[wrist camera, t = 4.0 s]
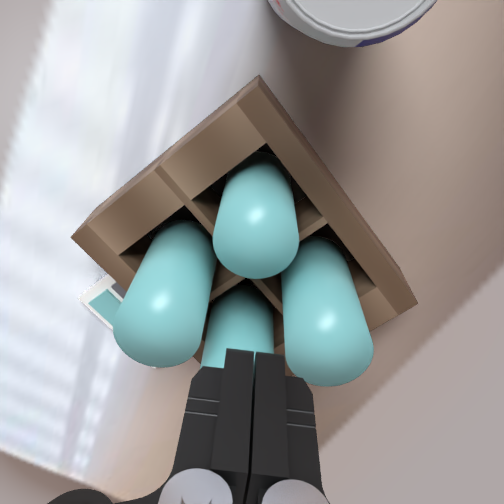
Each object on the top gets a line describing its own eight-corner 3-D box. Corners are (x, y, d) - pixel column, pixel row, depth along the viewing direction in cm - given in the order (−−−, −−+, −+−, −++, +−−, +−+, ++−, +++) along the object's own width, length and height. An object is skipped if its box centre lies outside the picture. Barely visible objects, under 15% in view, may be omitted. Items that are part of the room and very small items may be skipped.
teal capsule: (264, 138, 26) (263, 183, 19) (303, 189, 27) (316, 248, 20) (212, 177, 27) (194, 233, 20) (252, 225, 28) (248, 293, 21)
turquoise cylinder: (321, 223, 25) (342, 300, 18) (358, 271, 26) (390, 359, 20) (267, 260, 26) (267, 345, 20) (305, 304, 27) (317, 399, 21)
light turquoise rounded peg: (247, 273, 27) (240, 361, 20) (285, 316, 28) (291, 413, 21) (198, 306, 28) (176, 400, 21) (237, 346, 29) (228, 447, 22)
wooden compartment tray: (259, 74, 24) (257, 85, 21) (399, 267, 29) (418, 303, 25) (95, 208, 28) (70, 237, 24) (244, 361, 33) (241, 404, 29)
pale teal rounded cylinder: (188, 206, 25) (159, 278, 18) (231, 255, 26) (219, 339, 19) (138, 244, 26) (94, 325, 19) (182, 289, 27) (155, 380, 21)
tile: (130, 256, 29) (126, 262, 28) (204, 331, 32) (203, 339, 31) (81, 293, 31) (76, 300, 30) (156, 362, 33) (153, 370, 32)
